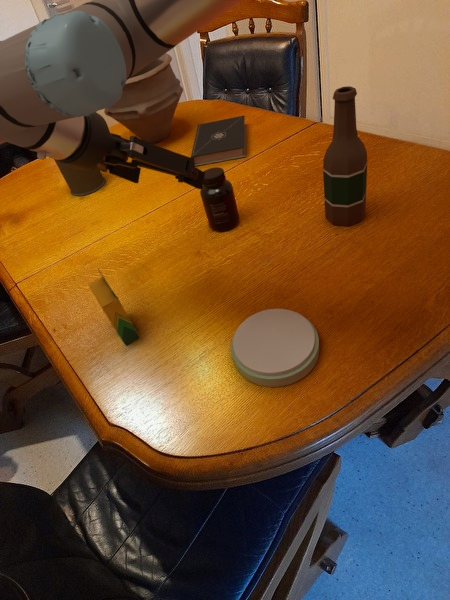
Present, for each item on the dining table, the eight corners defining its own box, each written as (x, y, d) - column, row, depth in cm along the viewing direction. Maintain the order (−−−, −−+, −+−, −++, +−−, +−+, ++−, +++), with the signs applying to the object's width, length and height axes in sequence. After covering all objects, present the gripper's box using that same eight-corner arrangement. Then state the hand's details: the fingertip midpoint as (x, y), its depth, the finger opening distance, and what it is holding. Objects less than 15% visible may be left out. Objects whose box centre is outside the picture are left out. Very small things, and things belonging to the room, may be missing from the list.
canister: (101, 192, 112) (67, 119, 98) (66, 199, 113) (28, 128, 100) (109, 173, 120) (78, 103, 106) (76, 180, 121) (42, 112, 107)
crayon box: (111, 323, 73) (82, 275, 65) (125, 314, 74) (98, 266, 66) (125, 347, 68) (95, 299, 60) (140, 338, 69) (113, 289, 61)
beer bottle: (317, 219, 82) (309, 96, 66) (341, 201, 85) (339, 78, 68) (349, 232, 77) (350, 101, 61) (373, 211, 80) (380, 82, 63)
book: (199, 134, 126) (196, 124, 124) (246, 125, 124) (244, 115, 122) (192, 167, 111) (189, 157, 109) (245, 157, 108) (244, 146, 106)
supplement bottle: (246, 217, 88) (235, 166, 80) (229, 235, 85) (216, 183, 76) (220, 212, 92) (208, 162, 84) (203, 229, 88) (188, 179, 80)
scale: (325, 322, 63) (325, 310, 61) (311, 394, 55) (309, 382, 53) (246, 314, 68) (243, 302, 66) (222, 379, 59) (217, 368, 57)
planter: (204, 118, 135) (187, 43, 119) (178, 153, 119) (153, 72, 104) (140, 124, 143) (116, 55, 128) (107, 158, 128) (75, 84, 113)
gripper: (1, 157, 56) (111, 194, 75) (137, 167, 45) (227, 207, 63) (8, 102, 56) (117, 153, 74) (149, 97, 44) (236, 159, 63)
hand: (168, 178), depth 69 cm, fingers open, 13 cm apart
